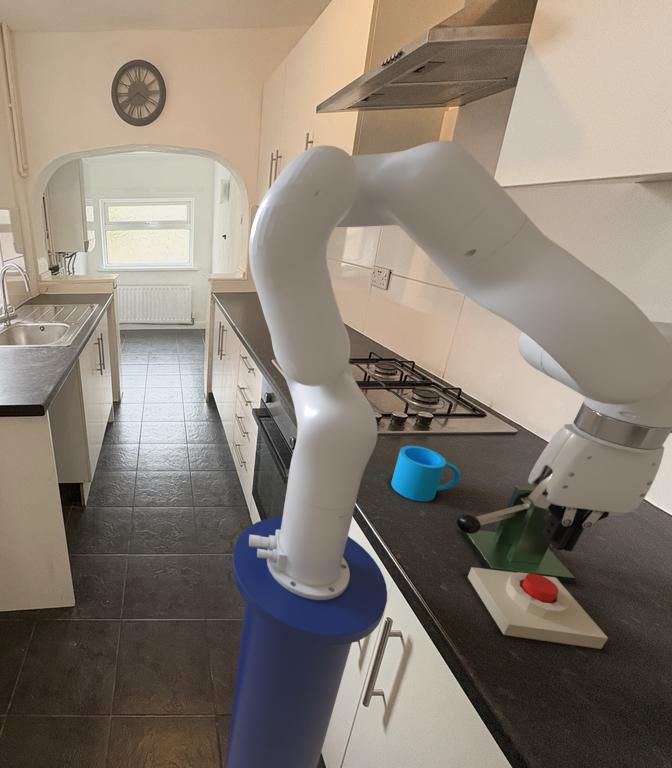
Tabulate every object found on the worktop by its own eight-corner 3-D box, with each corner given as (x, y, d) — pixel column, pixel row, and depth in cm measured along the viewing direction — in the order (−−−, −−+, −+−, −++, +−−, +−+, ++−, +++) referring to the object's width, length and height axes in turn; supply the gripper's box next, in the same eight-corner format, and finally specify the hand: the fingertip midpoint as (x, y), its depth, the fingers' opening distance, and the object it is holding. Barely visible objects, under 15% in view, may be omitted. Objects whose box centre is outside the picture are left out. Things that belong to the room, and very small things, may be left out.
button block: (503, 635, 58) (513, 615, 56) (467, 577, 67) (474, 558, 65) (601, 649, 56) (614, 629, 55) (550, 587, 65) (560, 568, 64)
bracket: (489, 572, 68) (516, 511, 63) (462, 533, 76) (484, 475, 71) (572, 583, 66) (607, 520, 61) (535, 541, 74) (563, 483, 69)
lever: (465, 540, 69) (460, 526, 69) (456, 526, 72) (451, 513, 71) (556, 517, 65) (551, 501, 64) (542, 503, 68) (537, 489, 67)
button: (531, 601, 59) (536, 592, 58) (516, 580, 62) (520, 571, 61) (560, 605, 58) (565, 596, 58) (543, 583, 62) (547, 575, 61)
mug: (398, 498, 85) (407, 465, 82) (386, 475, 92) (394, 443, 89) (462, 506, 83) (475, 472, 80) (445, 481, 90) (456, 449, 87)
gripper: (662, 418, 52) (595, 531, 59) (529, 406, 54) (481, 516, 61) (726, 450, 45) (642, 573, 52) (571, 435, 47) (512, 555, 54)
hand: (555, 542), depth 57 cm, fingers closed
